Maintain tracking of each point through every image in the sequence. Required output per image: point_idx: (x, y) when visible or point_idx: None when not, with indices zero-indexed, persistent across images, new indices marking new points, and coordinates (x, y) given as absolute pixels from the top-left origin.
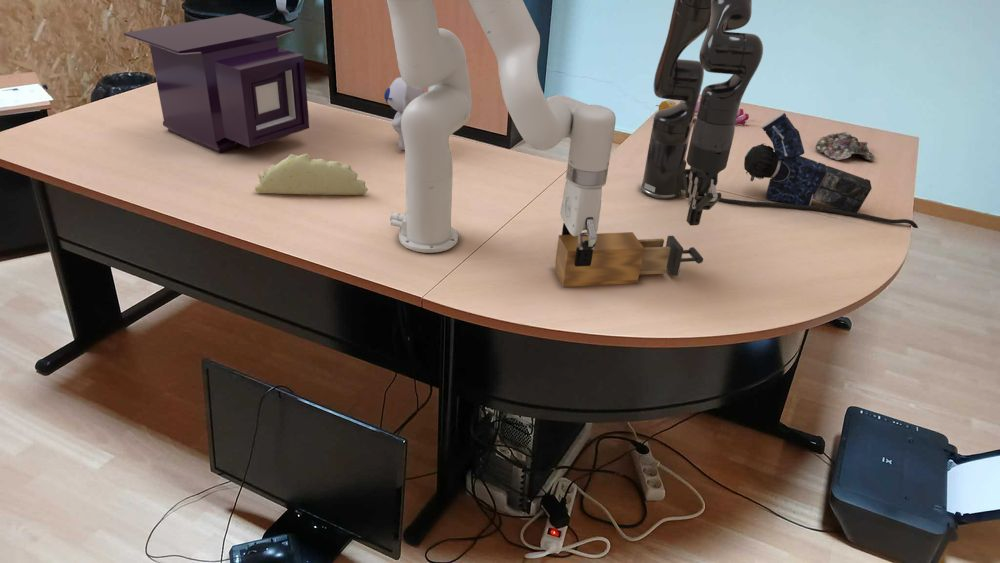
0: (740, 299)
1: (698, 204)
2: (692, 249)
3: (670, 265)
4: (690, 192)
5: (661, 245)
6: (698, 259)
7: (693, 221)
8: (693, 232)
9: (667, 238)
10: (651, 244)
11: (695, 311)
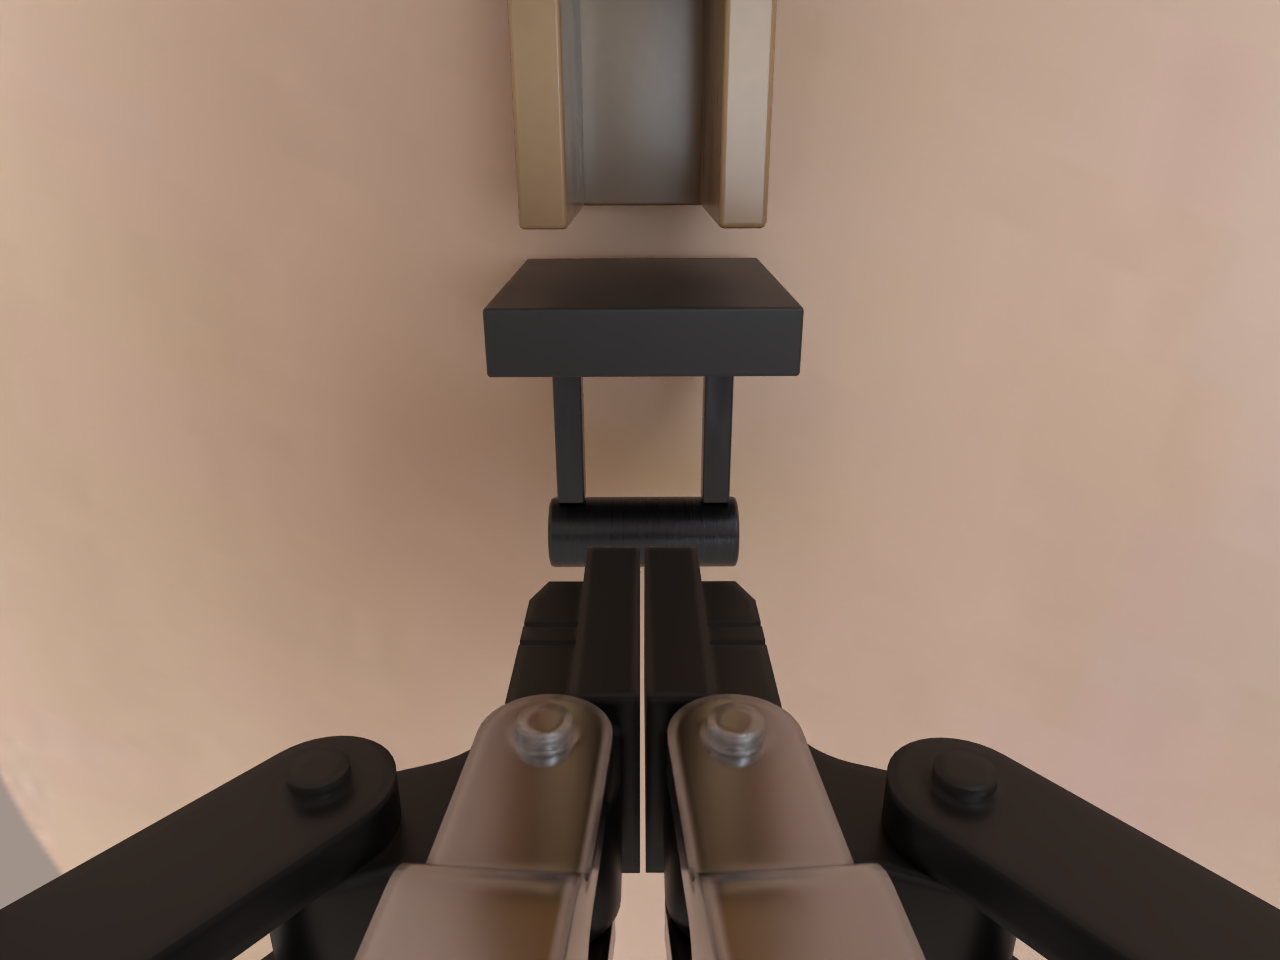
0: (260, 647)
1: (266, 842)
2: (697, 532)
3: (595, 268)
4: (707, 907)
5: (712, 196)
6: (548, 522)
7: (528, 608)
8: (1198, 709)
9: (790, 301)
10: (718, 54)
11: (65, 263)
